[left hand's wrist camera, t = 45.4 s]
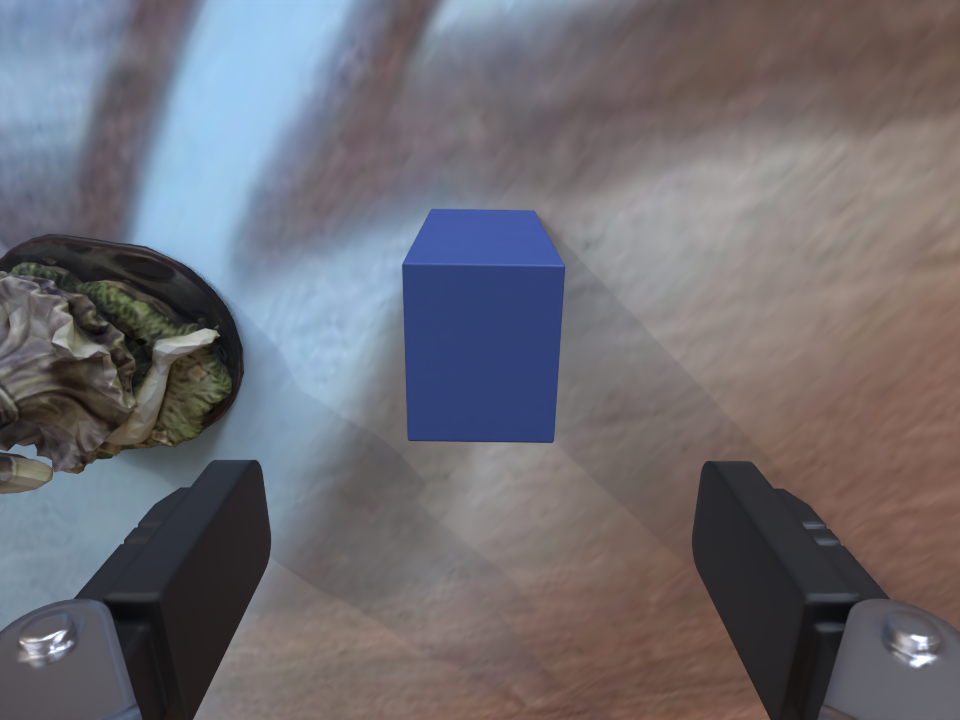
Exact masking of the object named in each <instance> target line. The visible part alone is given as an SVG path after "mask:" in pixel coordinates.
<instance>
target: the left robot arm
mask: <svg viewBox="0 0 960 720" xmlns="http://www.w3.org/2000/svg"><path fill="white" fill-rule="evenodd" d="M692 548H693V556H694V561H695V565H696V568H697V570H698V572H699V574H700V576H701V578H702V580H703V583H704V585H705V587H706V589H707V591H708V593H709V595H710V597H711V599H712V601H713V603H714V605H715V607H716V609H717V611H718V613H719V615H720V617H721V619H722V621H723V623H724V625H725V627H726V630H727V632H728V634H729V636H730V638H731V640H732V642H733V644H734V646H735V648H736V650H737V652H738V654H739V656H740V658H741V660H742V662H743V664H744V666H745V668H746V670H747V672H748V675H749V677H750V679H751V681H752V683H753V685H754V687H755V689H756V691H757V693H758V695H759V697H760V699H761V701H762V703H763V705H764V707H765V709H766V711H767V713H768V715H769V717H770V719H771V720H960V632H959V631H958V630H957V629H956V628H955V627H953V626H952V625H950V624H949V623H948V622H946V621H945V620H943V619H941V618H940V617H938V616H936V615H934V614H932V613H930V612H928V611H926V610H924V609H922V608H919V607H917V606H914V605H911V604H908V603H904V602H900V601H896V600H891V599H890V598H889V597H888V596H887V595H886V594H885V592H884V591H883V590H882V589H881V588H880V587H879V586H878V584H877V583H876V582H875V581H874V580H873V579H872V577H871V576H870V575H869V574H868V573H867V572H866V571H865V569H864V568H863V567H862V566H861V565H860V564H859V562H858V561H857V560H856V559H855V558H854V557H853V556H852V554H851V553H850V552H849V551H848V550H847V549H846V547H845V546H841V544H840V541H839V539H838V538H837V537H836V536H835V535H834V534H833V532H832V531H831V530H830V529H826V524H825V523H824V522H823V521H822V520H821V519H820V517H819V516H818V515H817V514H816V513H815V512H814V511H813V509H812V508H811V507H810V506H809V505H808V504H806V503H804V502H803V501H801V500H800V499H798V498H797V497H795V496H793V495H792V494H790V493H789V492H787V491H786V490H784V489H773V487H772V486H771V485H770V484H769V482H768V481H767V480H766V479H765V477H764V476H763V475H762V474H761V472H760V471H759V470H758V469H757V467H756V466H755V465H754V464H753V463H752V462H750V461H707V462H706V463H705V464H704V465H703V468H702V471H701V477H700V484H699V491H698V498H697V505H696V512H695V519H694V526H693V534H692ZM270 549H271V531H270V524H269V516H268V509H267V502H266V495H265V488H264V481H263V474H262V469H261V466H260V464H259V462H258V461H257V460H213V461H212V462H211V463H210V464H209V465H208V466H207V467H206V469H205V470H204V471H203V472H202V474H201V475H200V476H199V477H198V479H197V480H196V481H195V482H194V484H193V485H192V486H191V487H190V488H180V489H178V490H176V491H175V492H173V493H172V494H170V495H169V496H167V497H165V498H164V499H162V500H161V501H159V502H158V503H156V504H155V505H154V506H153V507H152V508H151V509H150V511H149V512H148V513H147V514H146V515H145V516H144V518H143V519H142V520H141V521H140V522H139V523H138V528H134V529H133V530H132V531H131V533H130V534H129V535H128V536H127V537H126V538H125V540H124V544H120V545H119V547H118V548H117V549H116V550H115V551H114V552H113V554H112V555H111V556H110V557H109V558H108V559H107V561H106V562H105V563H104V564H103V565H102V566H101V568H100V569H99V570H98V571H97V572H96V573H95V575H94V576H93V577H92V578H91V579H90V580H89V582H88V583H87V584H86V585H85V586H84V587H83V589H82V590H81V591H80V592H79V593H78V594H77V596H76V597H75V598H74V599H71V600H64V601H60V602H56V603H52V604H49V605H46V606H43V607H41V608H38V609H36V610H34V611H32V612H30V613H28V614H26V615H24V616H22V617H20V618H19V619H17V620H15V621H14V622H12V623H11V624H10V625H8V626H7V627H5V628H4V629H3V630H2V631H1V632H0V720H193V718H194V716H195V714H196V712H197V710H198V708H199V706H200V704H201V702H202V700H203V698H204V696H205V694H206V692H207V690H208V687H209V685H210V683H211V681H212V679H213V677H214V675H215V673H216V671H217V669H218V667H219V665H220V663H221V661H222V658H223V656H224V654H225V652H226V650H227V648H228V646H229V644H230V642H231V640H232V638H233V636H234V634H235V632H236V630H237V627H238V625H239V623H240V621H241V619H242V617H243V615H244V613H245V611H246V609H247V607H248V605H249V603H250V601H251V598H252V596H253V594H254V592H255V590H256V588H257V586H258V584H259V582H260V580H261V578H262V576H263V574H264V572H265V569H266V567H267V564H268V560H269V556H270Z"/></svg>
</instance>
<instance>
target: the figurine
mask: <svg viewBox="0 0 960 720" xmlns="http://www.w3.org/2000/svg"><path fill="white" fill-rule="evenodd" d="M243 374H244V367H243V348H242V345H241V342H240V339H239V335H238V332H237V329H236V326H235V322H234V320H233V318H232V316H231V314H230V312H229V311H228V309H227V307H226V306H225V304H224V303H223V302H222V300H221V299H220V298H219V297H218V295H217V294H216V293H215V291H214V290H213V289H212V288H210V287H209V286H208V285H207V284H206V283H205V282H204V281H203V280H202V279H201V278H200V277H199V276H198V275H197V274H196V273H195V272H193V271H192V270H191V269H190V268H188V267H187V266H185V265H183V264H182V263H180V262H178V261H176V260H173V259H171V258H169V257H167V256H165V255H163V254H161V253H159V252H156V251H154V250H152V249H150V248H148V247H145V246H138V245H132V244H122V243H113V242H108V241H102V240H96V239H89V238H82V237H74V236H66V235H54V234H48V235H44V236H40V237H37V238H33V239H31V240H29V241H26V242H24V243H21V244H20V245H18V246H16V247H14V248H13V249H11V250H10V251H8V252H7V253H6V254H5V255H4V256H3V257H2V258H1V259H0V449H1V450H4V451H8V450H9V449H11V448H12V447H13V446H14V445H15V444H19V445H22V446H28V445H31V444H34V445H35V446H36V448H37V456H45V457H47V458H49V459H51V460H52V468H53V469H54V472H59V471H64V472H67V473H75V474H78V473H80V472H82V471H84V468H85V466H86V465H87V464H91V463H93V462H94V461H95V460H96V459H109V458H112V457H113V455H115V456H116V455H117V454H118V453H120V451H121V450H125V449H135V448H151V447H155V446H158V445H164V446H171V447H176V446H177V445H178V444H179V443H181V442H182V441H188V440H191V439H194V438H196V437H198V436H199V435H200V433H201V432H202V431H203V430H204V429H206V428H207V427H209V426H210V425H212V424H213V423H214V422H216V421H217V420H218V419H220V418H221V417H222V416H223V414H224V413H225V412H226V411H227V410H228V409H229V407H230V406H231V404H232V403H233V401H234V399H235V397H236V395H237V392H238V390H239V388H240V385H241V381H242V377H243ZM52 468H51V467H50V466H49V465H48V464H45V463H42V462H40V461H37V460H33V459H27V458H26V457H24V456H21V455H17V454H9V453H1V452H0V494H5V493H19V492H24V491H29V490H34V489H37V488H39V487H41V486H42V485H44V484H45V483H47V482H49V481H50V480H52V476H53V469H52Z"/></svg>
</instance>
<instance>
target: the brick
mask: <svg viewBox="0 0 960 720" xmlns="http://www.w3.org/2000/svg"><path fill="white" fill-rule="evenodd" d="M402 271H403V303H404V335H405V367H406V399H407V432H408V440H409V441H457V442H532V443H552V442H553V441H554V430H555V415H556V399H557V384H558V368H559V353H560V338H561V322H562V307H563V291H564V276H565V265H564V263H563V262H562V260H561V258H560V256H559V255H558V253H557V251H556V249H555V247H554V246H553V244H552V242H551V240H550V238H549V237H548V235H547V233H546V231H545V229H544V228H543V226H542V224H541V222H540V220H539V219H538V217H537V215H536V213H535V212H534V211H525V210H458V209H431V211H430V213H429V215H428V216H427V218H426V220H425V222H424V224H423V226H422V228H421V230H420V232H419V233H418V235H417V237H416V239H415V241H414V243H413V245H412V247H411V249H410V251H409V252H408V254H407V256H406V258H405V260H404V262H403V264H402Z"/></svg>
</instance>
